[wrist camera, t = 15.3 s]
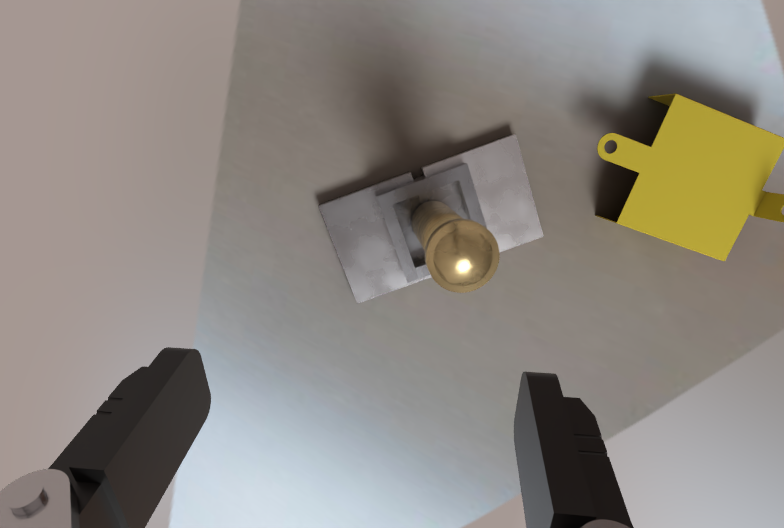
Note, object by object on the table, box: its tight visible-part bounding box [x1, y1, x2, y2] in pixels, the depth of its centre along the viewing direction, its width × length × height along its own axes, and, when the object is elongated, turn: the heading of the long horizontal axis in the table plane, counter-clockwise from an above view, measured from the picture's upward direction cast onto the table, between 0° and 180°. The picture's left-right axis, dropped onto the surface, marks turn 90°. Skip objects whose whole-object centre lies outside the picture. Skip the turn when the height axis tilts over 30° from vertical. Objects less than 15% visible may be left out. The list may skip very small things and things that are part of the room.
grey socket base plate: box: [319, 134, 544, 304], centre depth 40 cm, size 9×17×2 cm, turn 110°
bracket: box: [595, 93, 784, 261], centre depth 39 cm, size 16×8×15 cm
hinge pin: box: [411, 201, 499, 293], centre depth 35 cm, size 4×4×12 cm
